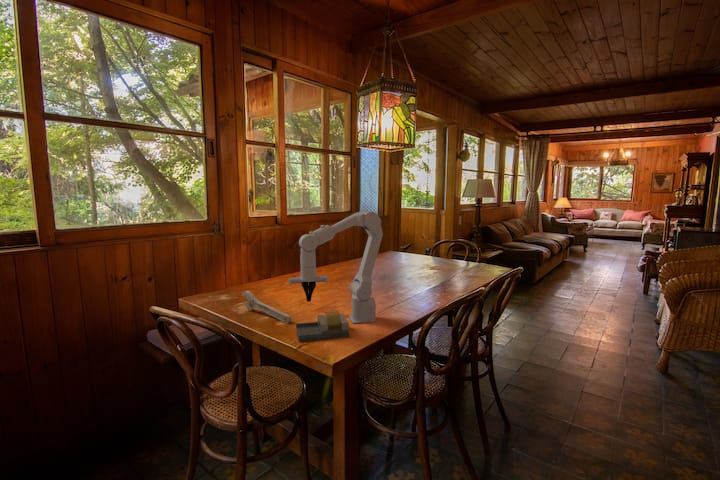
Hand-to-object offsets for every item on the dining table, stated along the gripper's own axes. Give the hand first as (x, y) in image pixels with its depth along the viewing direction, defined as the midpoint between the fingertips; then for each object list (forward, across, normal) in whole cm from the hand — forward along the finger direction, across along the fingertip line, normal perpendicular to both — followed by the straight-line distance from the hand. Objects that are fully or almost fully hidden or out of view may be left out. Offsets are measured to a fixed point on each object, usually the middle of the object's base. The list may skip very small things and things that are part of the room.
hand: (308, 300), depth 142 cm
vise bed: (+10, -4, +8) cm, 13 cm away
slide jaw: (+8, -4, +8) cm, 12 cm away
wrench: (+10, +16, -16) cm, 25 cm away
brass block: (+9, -8, +8) cm, 14 cm away
